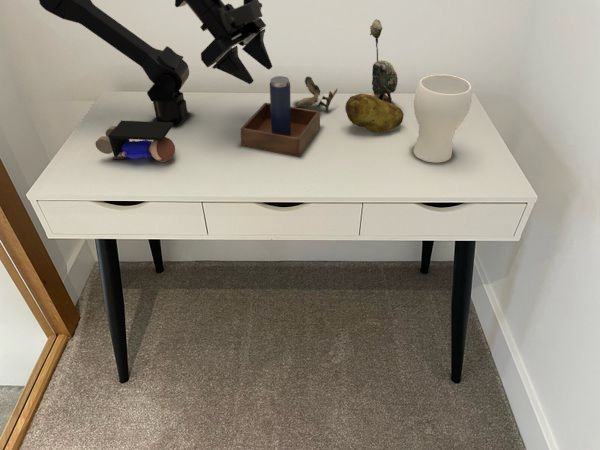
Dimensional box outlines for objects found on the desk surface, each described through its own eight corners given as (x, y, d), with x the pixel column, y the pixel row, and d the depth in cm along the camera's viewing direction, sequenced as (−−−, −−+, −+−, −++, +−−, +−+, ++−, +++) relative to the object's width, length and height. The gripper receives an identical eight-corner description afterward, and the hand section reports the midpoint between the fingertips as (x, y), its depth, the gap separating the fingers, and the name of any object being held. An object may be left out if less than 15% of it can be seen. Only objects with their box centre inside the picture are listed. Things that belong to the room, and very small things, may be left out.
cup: (428, 172, 99) (441, 100, 89) (396, 147, 106) (405, 79, 97) (469, 158, 103) (486, 89, 93) (436, 136, 110) (448, 69, 100)
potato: (402, 140, 108) (407, 105, 103) (342, 136, 110) (344, 102, 105) (402, 122, 115) (406, 89, 110) (345, 118, 116) (347, 85, 111)
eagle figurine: (339, 98, 122) (306, 84, 124) (337, 81, 115) (303, 67, 118) (323, 123, 121) (291, 109, 123) (321, 108, 114) (287, 93, 116)
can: (271, 139, 108) (268, 84, 100) (272, 129, 111) (269, 75, 103) (290, 139, 108) (289, 84, 100) (291, 129, 111) (290, 75, 103)
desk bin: (241, 145, 107) (240, 128, 104) (265, 118, 117) (265, 102, 114) (299, 156, 103) (299, 139, 101) (319, 127, 113) (320, 111, 110)
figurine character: (102, 169, 102) (171, 168, 99) (89, 136, 98) (160, 134, 95) (117, 152, 108) (182, 151, 105) (104, 120, 103) (172, 117, 100)
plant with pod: (369, 119, 116) (378, 31, 103) (357, 98, 125) (363, 14, 112) (403, 117, 117) (415, 29, 104) (389, 96, 126) (399, 12, 113)
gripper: (211, -7, 88) (268, 66, 91) (257, -25, 102) (305, 39, 105) (176, 32, 94) (231, 99, 98) (224, 10, 109) (270, 69, 112)
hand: (261, 75), depth 103 cm, fingers open, 9 cm apart
